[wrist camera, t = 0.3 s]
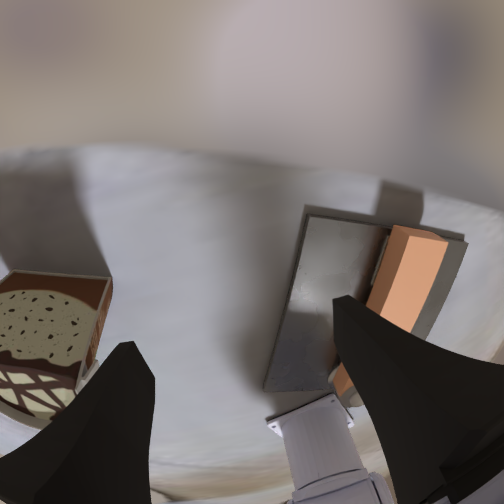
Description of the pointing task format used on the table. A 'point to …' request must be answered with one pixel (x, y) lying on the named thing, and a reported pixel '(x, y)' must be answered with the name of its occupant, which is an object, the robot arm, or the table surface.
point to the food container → (48, 341)
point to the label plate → (336, 285)
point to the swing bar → (399, 289)
